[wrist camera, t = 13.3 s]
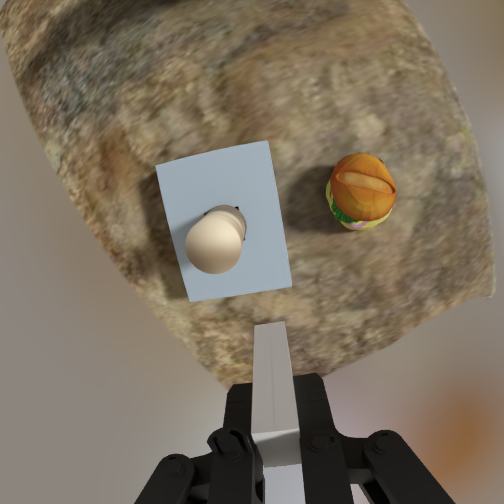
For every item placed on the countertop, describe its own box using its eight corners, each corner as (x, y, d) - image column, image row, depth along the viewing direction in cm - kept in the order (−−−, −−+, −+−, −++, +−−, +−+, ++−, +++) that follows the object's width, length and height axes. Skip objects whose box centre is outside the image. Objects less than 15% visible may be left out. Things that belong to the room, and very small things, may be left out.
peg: (205, 204, 39) (177, 224, 26) (243, 197, 39) (235, 213, 26) (213, 242, 41) (192, 279, 28) (251, 235, 41) (247, 270, 27)
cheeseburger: (335, 240, 41) (350, 244, 31) (310, 176, 41) (317, 160, 31) (391, 218, 39) (418, 216, 29) (367, 156, 39) (387, 137, 29)
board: (167, 165, 38) (155, 165, 33) (266, 143, 37) (267, 140, 32) (196, 287, 44) (190, 301, 39) (288, 273, 43) (292, 286, 38)
